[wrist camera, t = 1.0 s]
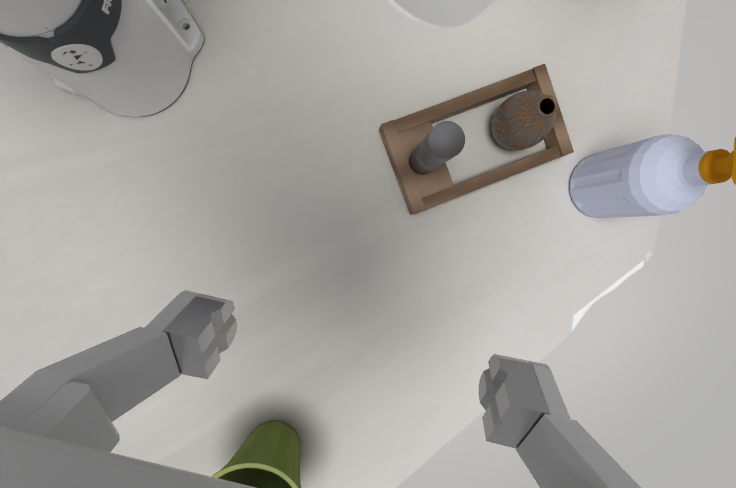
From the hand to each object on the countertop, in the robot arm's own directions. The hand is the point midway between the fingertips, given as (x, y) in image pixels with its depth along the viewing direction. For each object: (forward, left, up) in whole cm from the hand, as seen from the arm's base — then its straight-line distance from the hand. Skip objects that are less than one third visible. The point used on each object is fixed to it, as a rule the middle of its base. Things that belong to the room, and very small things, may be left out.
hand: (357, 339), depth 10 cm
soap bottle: (+4, +37, -34) cm, 50 cm away
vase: (-8, +27, -34) cm, 44 cm away
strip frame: (-8, +22, -33) cm, 41 cm away
